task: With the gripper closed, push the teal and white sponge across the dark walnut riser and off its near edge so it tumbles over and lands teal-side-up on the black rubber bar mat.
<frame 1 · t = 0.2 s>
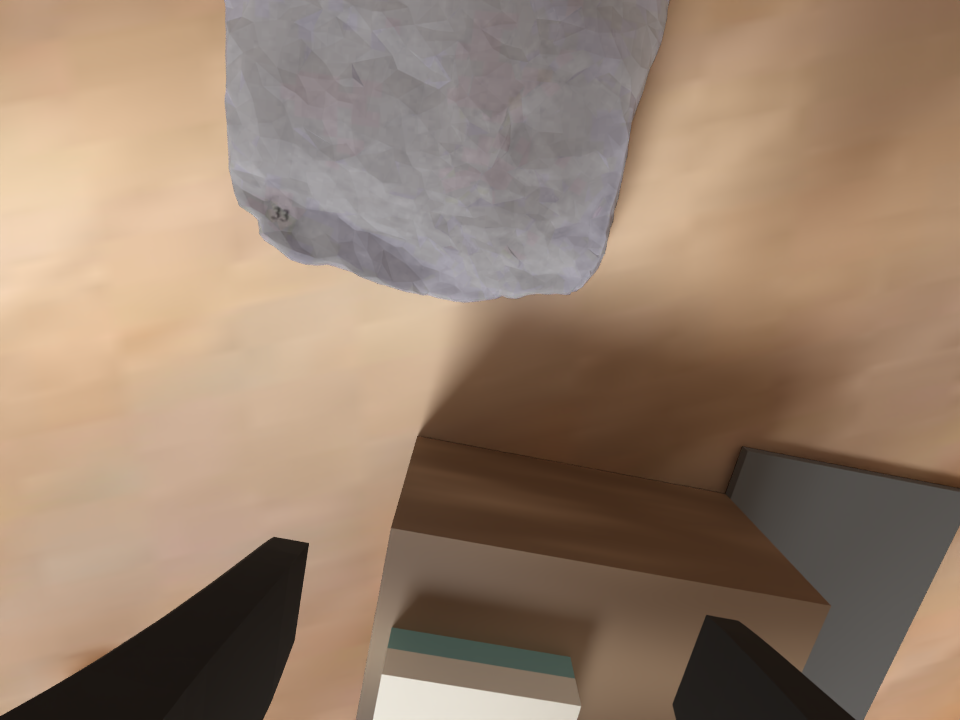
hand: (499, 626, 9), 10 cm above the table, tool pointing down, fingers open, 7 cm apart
stone block: (441, 142, 17), on the table
bar mat: (774, 659, 21), on the table
riser: (532, 618, 21), on the table
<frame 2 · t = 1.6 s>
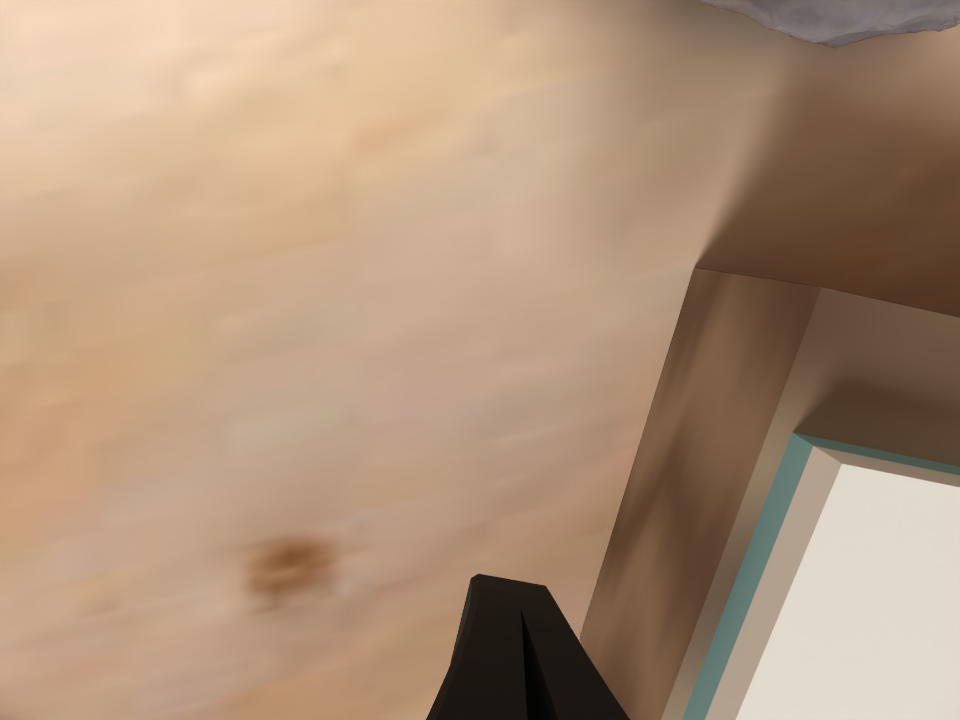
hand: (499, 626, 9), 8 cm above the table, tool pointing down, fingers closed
teal and white sponge: (833, 611, 12), point 6 cm above the table, touching riser
riser: (796, 502, 18), on the table
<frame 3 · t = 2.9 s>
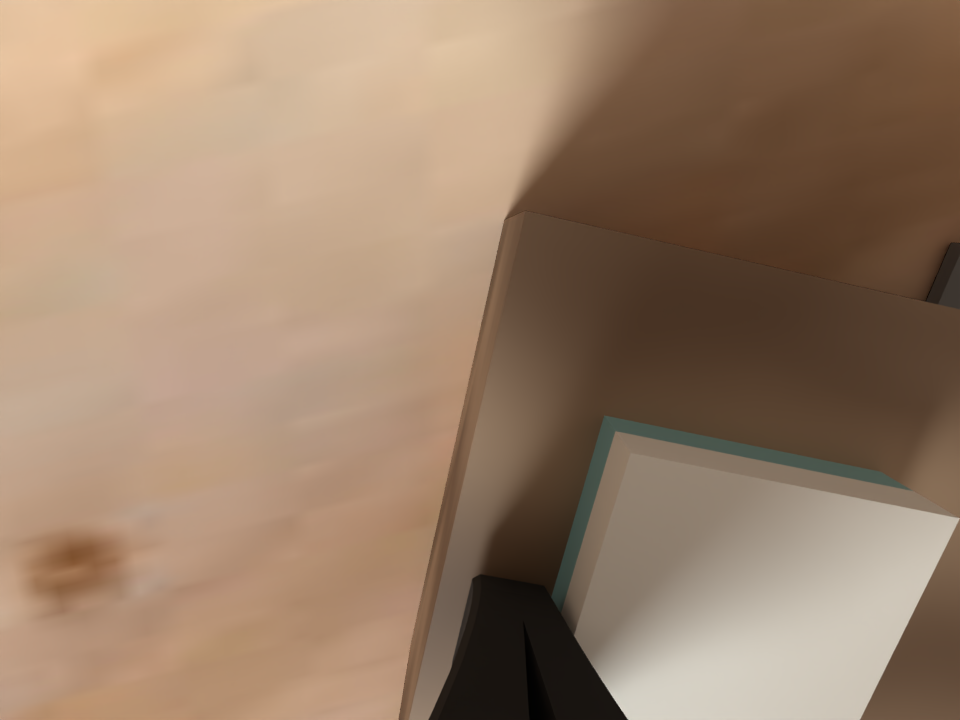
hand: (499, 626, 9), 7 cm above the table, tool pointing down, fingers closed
teal and white sponge: (674, 635, 10), point 6 cm above the table, touching gripper, riser
bar mat: (959, 556, 16), on the table
riser: (643, 494, 16), on the table
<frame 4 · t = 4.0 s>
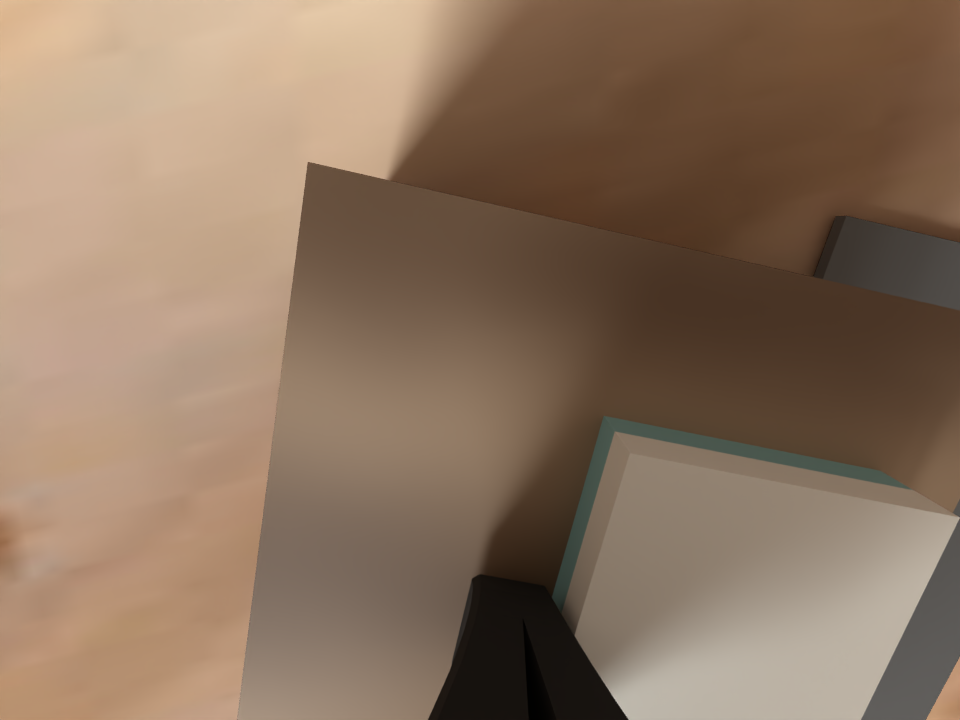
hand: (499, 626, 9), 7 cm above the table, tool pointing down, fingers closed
teal and white sponge: (675, 635, 10), point 6 cm above the table, touching gripper
bar mat: (861, 537, 16), on the table
riser: (538, 474, 15), on the table
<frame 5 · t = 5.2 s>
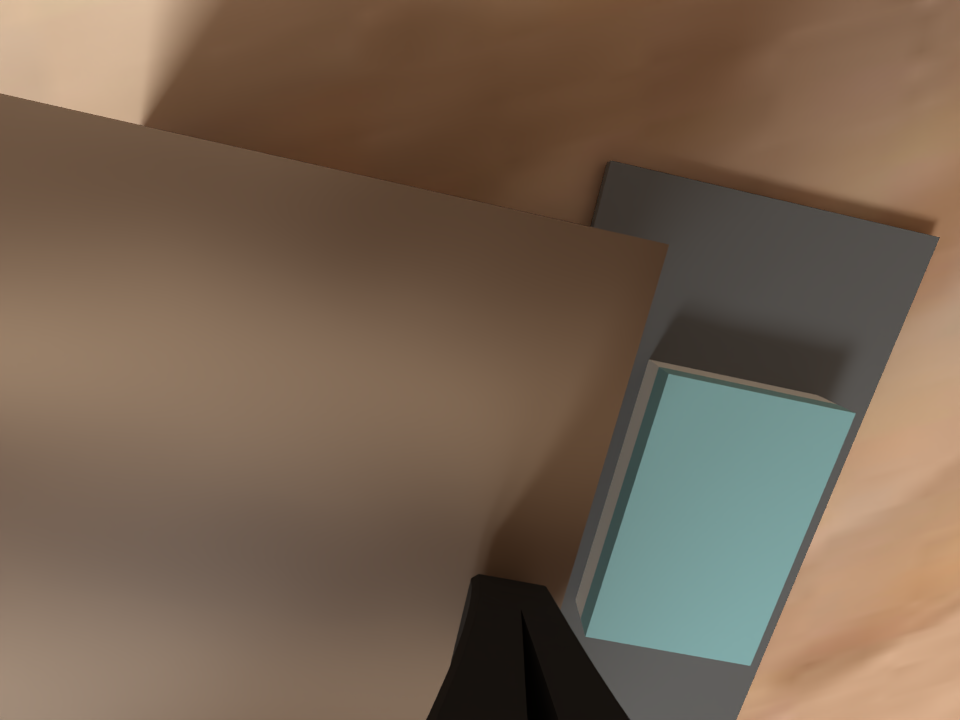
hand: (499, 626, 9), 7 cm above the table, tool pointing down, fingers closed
teal and white sponge: (712, 531, 14), point 2 cm above the table, tilted 180°, touching bar mat
bar mat: (669, 499, 16), on the table
riser: (329, 433, 15), on the table
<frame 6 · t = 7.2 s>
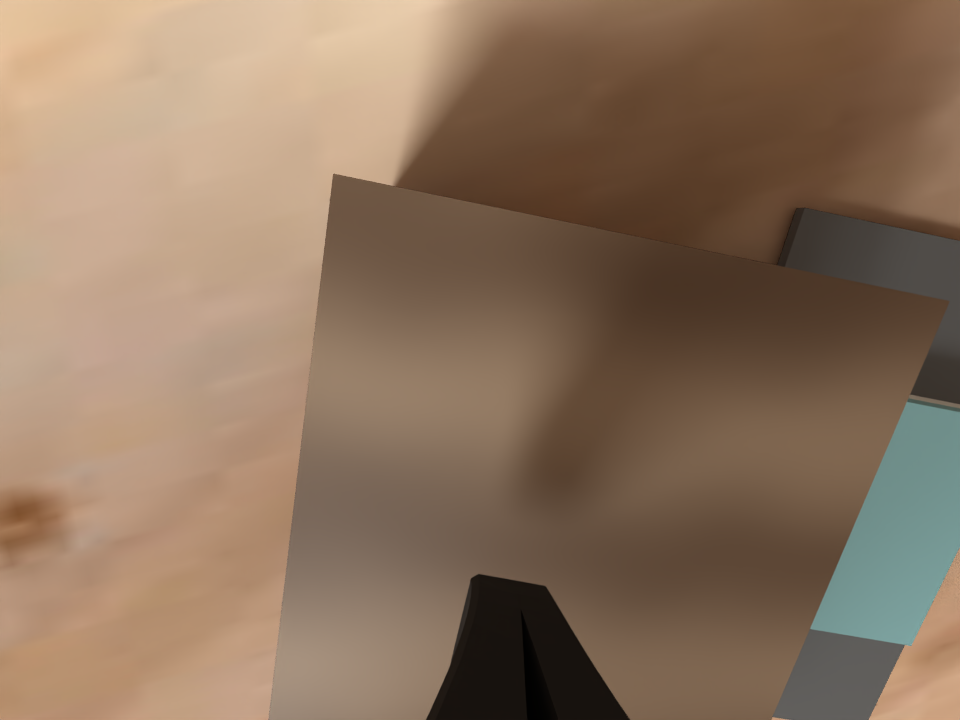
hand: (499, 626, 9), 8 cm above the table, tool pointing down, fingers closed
teal and white sponge: (887, 528, 16), point 2 cm above the table, tilted 180°, touching bar mat
bar mat: (830, 500, 18), on the table
riser: (534, 446, 17), on the table
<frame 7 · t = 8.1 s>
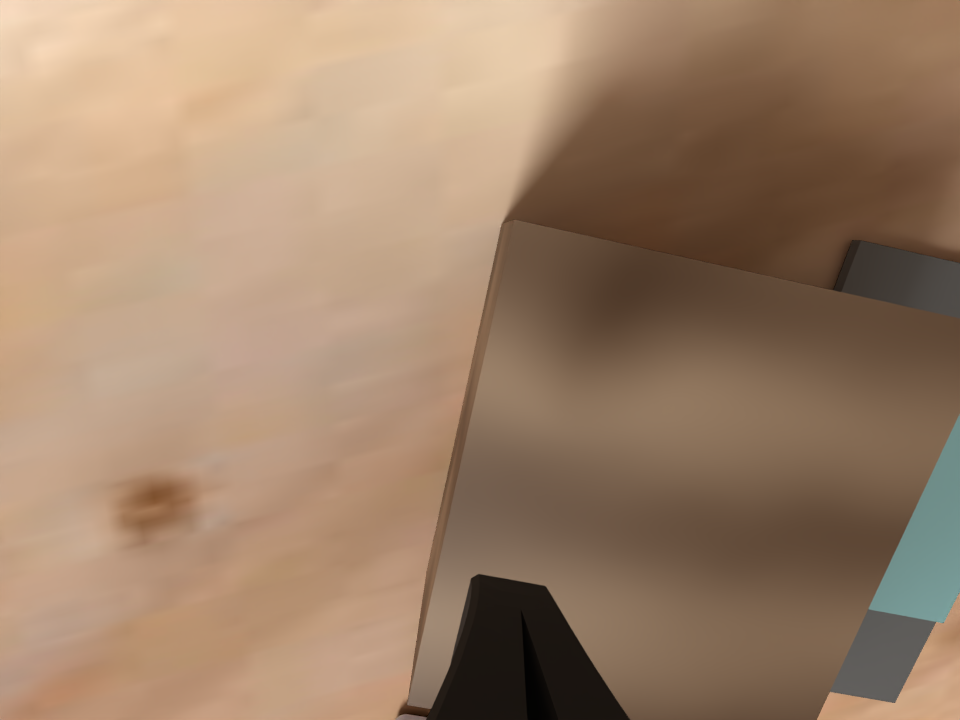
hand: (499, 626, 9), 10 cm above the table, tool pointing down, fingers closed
teal and white sponge: (926, 518, 18), point 2 cm above the table, tilted 180°, touching bar mat
bar mat: (872, 494, 20), on the table
riser: (615, 443, 19), on the table
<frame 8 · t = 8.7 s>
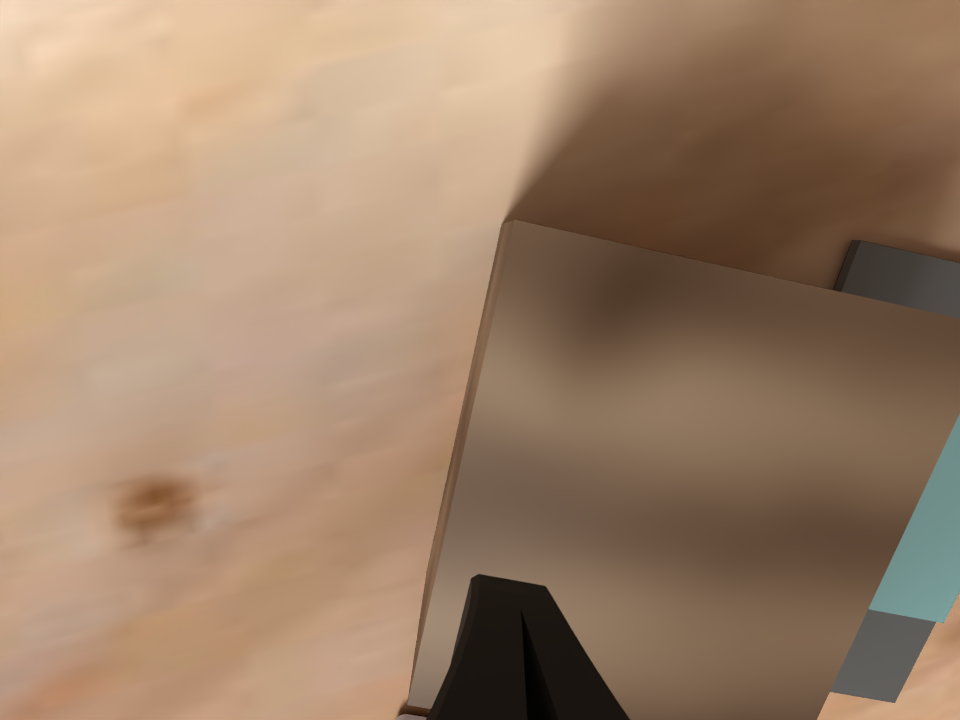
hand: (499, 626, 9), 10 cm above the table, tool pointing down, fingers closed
teal and white sponge: (926, 518, 18), point 2 cm above the table, tilted 180°, touching bar mat
bar mat: (872, 494, 20), on the table
riser: (615, 443, 19), on the table
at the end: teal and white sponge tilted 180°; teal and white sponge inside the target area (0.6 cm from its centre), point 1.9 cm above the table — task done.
